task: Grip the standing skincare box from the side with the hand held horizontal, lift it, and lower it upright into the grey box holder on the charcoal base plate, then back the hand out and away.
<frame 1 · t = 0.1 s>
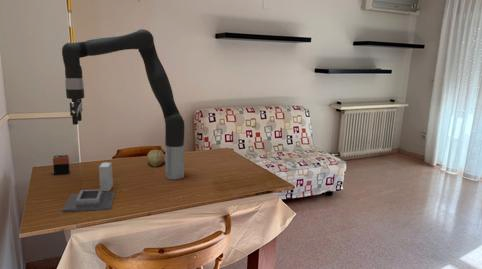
hand: (77, 122, 161), 29 cm above the table, tool pointing down, fingers open, 8 cm apart
grey box holder: (90, 202, 146), on the table
battery: (62, 173, 177), on the table
bread roll: (155, 163, 199), on the table
skincare box: (106, 189, 160), on the table
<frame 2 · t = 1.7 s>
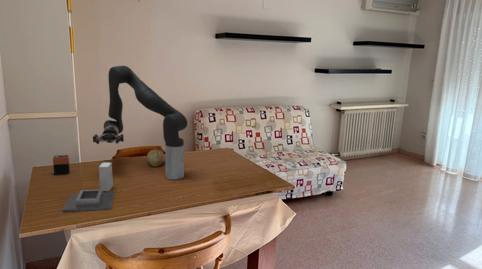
hand: (107, 141, 166), 20 cm above the table, tool horizontal, fingers open, 8 cm apart
nothing on the table moved.
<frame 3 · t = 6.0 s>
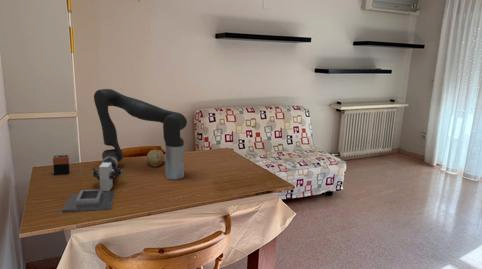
hand: (105, 177, 156), 7 cm above the table, tool horizontal, fingers closed on skincare box, 4 cm apart
skincare box: (106, 189, 160), on the table, touching gripper
everything else where it was.
when the fingers open (8 cm above the table, at t = 11.7 s): skincare box stays where it is, resting on grey box holder.
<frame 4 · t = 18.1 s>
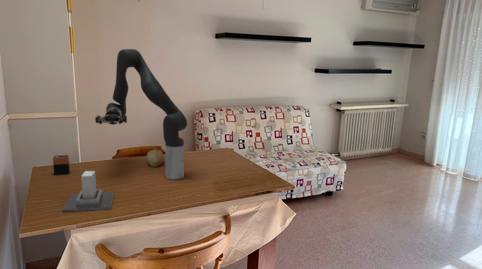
hand: (110, 122, 161), 30 cm above the table, tool horizontal, fingers open, 8 cm apart
skincare box: (90, 200, 146), point 1 cm above the table, touching grey box holder
everything else where it was.
at the end: skincare box 0.1 cm off-centre on the grey box holder, point 0.8 cm above the grey box holder's base; skincare box tilted 0°; the gripper is holding nothing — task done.
